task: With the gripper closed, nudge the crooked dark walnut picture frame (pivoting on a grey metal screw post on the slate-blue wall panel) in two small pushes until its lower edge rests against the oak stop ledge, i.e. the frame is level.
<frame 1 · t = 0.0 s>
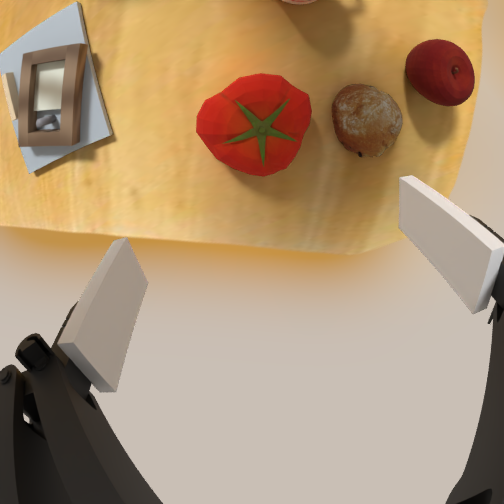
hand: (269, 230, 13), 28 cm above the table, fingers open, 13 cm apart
tomato: (254, 121, 37), on the table
apple: (418, 71, 33), on the table
bread roll: (361, 119, 37), on the table
wall panel: (49, 88, 30), on the table
walnut frame: (48, 96, 29), point 3 cm above the table, hinge at -22.0°
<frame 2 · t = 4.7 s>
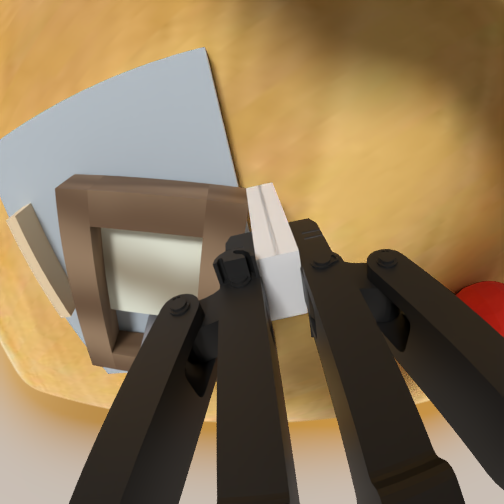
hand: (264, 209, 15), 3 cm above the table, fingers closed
tomato: (451, 314, 26), on the table
wall panel: (132, 252, 19), on the table
walnut frame: (150, 294, 18), point 3 cm above the table, hinge at -21.0°, touching gripper
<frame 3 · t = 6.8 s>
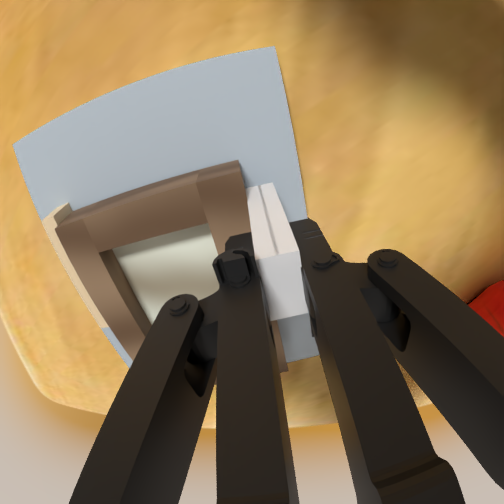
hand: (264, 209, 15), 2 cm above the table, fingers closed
tomato: (476, 312, 26), on the table
wall panel: (182, 257, 19), on the table
walnut frame: (185, 301, 17), point 3 cm above the table, hinge at 0.3°, touching gripper
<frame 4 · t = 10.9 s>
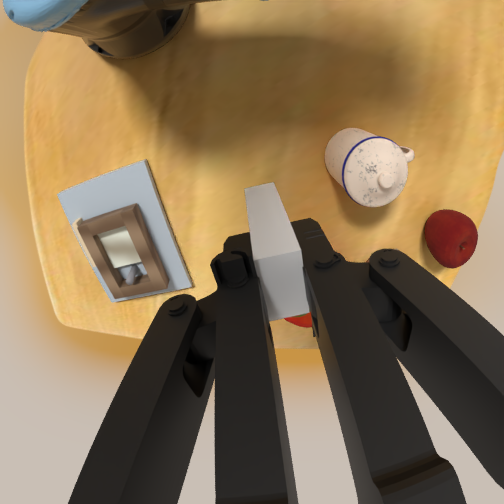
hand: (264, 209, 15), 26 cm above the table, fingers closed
apple: (435, 222, 47), on the table
teacup with lid: (359, 152, 40), on the table
wall panel: (125, 238, 45), on the table
walnut frame: (123, 255, 43), point 3 cm above the table, hinge at 0.3°
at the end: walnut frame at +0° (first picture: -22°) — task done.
